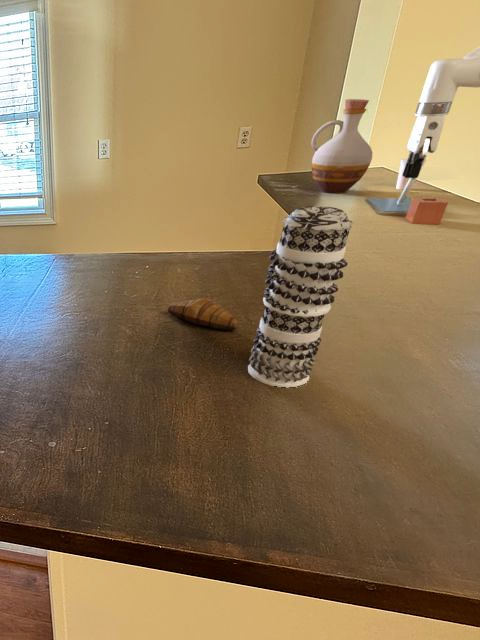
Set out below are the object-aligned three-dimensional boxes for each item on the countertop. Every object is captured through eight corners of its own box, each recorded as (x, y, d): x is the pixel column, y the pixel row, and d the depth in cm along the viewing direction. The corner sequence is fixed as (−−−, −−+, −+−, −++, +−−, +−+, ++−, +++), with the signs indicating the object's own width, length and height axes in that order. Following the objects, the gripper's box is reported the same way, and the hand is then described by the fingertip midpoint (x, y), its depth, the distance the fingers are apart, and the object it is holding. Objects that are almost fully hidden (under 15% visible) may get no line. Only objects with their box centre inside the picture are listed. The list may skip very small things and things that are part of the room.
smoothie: (414, 190, 169) (429, 147, 162) (392, 190, 172) (406, 148, 165) (412, 187, 173) (427, 145, 166) (390, 186, 176) (403, 145, 169)
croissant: (244, 325, 89) (249, 301, 86) (227, 338, 85) (232, 313, 83) (177, 307, 98) (180, 284, 95) (159, 318, 94) (162, 294, 91)
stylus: (401, 205, 150) (426, 157, 143) (402, 206, 149) (427, 158, 142) (395, 204, 151) (420, 157, 143) (396, 205, 150) (421, 157, 142)
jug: (294, 193, 177) (315, 102, 162) (305, 184, 189) (326, 98, 174) (357, 197, 166) (386, 99, 151) (365, 188, 177) (393, 96, 162)
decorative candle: (254, 388, 71) (294, 220, 59) (238, 358, 79) (270, 203, 67) (321, 390, 70) (377, 218, 57) (298, 359, 77) (343, 201, 65)
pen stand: (432, 218, 139) (440, 197, 136) (439, 224, 134) (448, 202, 131) (405, 218, 141) (412, 197, 138) (411, 223, 136) (419, 201, 133)
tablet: (416, 201, 156) (417, 198, 156) (436, 216, 141) (437, 212, 140) (365, 200, 162) (366, 197, 161) (379, 214, 146) (380, 211, 145)
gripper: (459, 110, 129) (433, 181, 138) (440, 107, 141) (417, 172, 151) (424, 112, 132) (401, 181, 141) (409, 108, 144) (388, 172, 153)
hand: (409, 176), depth 146 cm, fingers closed on stylus, 1 cm apart
